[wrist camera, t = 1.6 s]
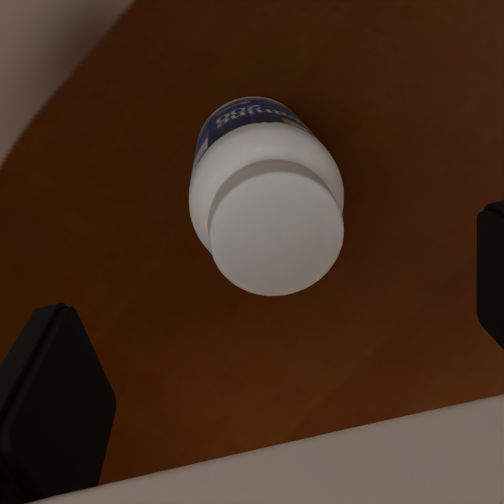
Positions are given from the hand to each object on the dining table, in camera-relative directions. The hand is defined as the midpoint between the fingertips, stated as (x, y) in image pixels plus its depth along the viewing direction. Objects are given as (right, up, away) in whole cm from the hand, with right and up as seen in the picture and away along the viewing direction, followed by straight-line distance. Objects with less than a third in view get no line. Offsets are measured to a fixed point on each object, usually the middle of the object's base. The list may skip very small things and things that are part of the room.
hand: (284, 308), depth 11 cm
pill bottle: (-1, +6, +12) cm, 13 cm away
